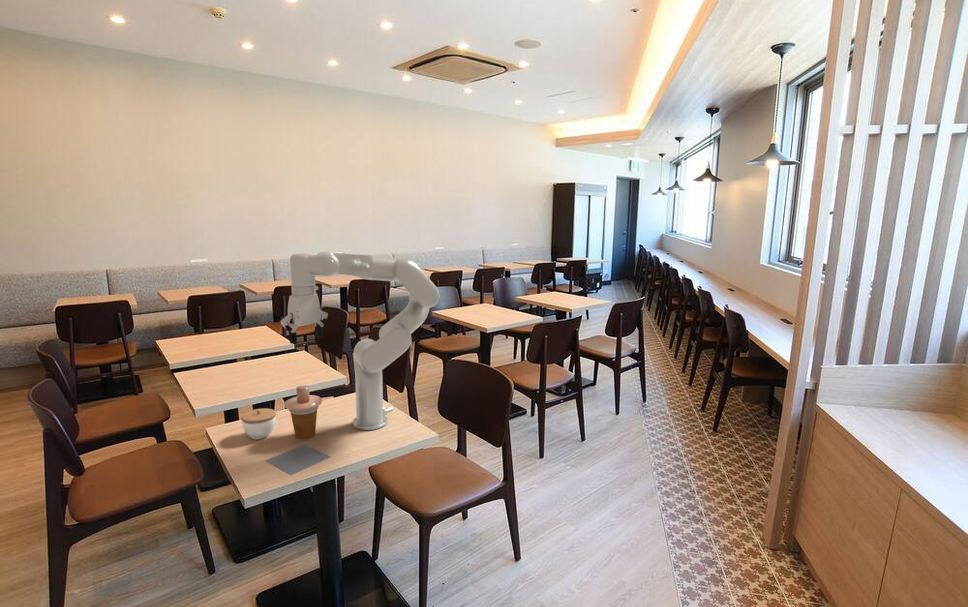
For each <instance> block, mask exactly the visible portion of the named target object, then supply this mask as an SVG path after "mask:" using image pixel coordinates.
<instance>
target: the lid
mask: <svg viewBox="0 0 968 607" xmlns="http://www.w3.org/2000/svg"><path fill="white" fill-rule="evenodd" d="M295 392H296V396H294V397H291V398H288V399H286V401H285V402H284V408H285V409H286V410H288V411H289V410H294V411H301V410H308V409H312V408H315V407H317V406H318V407H319V406H320V405H322V403H323V399H322V397H320V396H319V395H314V394H310V387H309V385H299V386H296V391H295Z"/></svg>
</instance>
